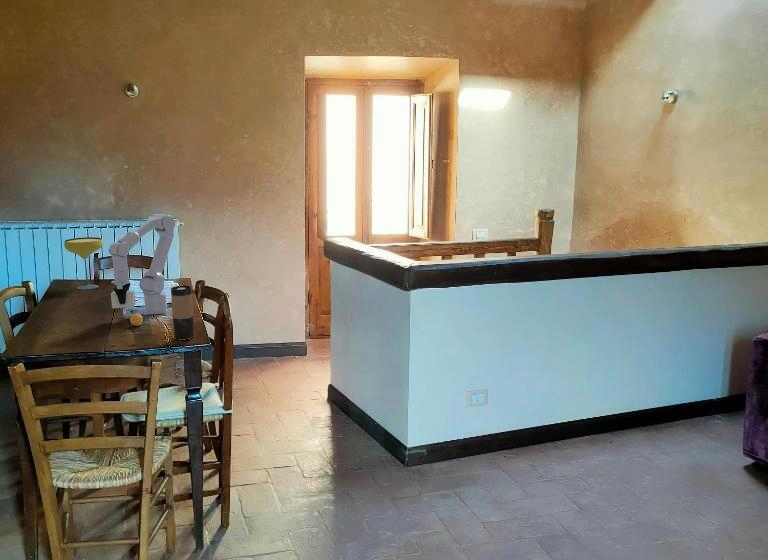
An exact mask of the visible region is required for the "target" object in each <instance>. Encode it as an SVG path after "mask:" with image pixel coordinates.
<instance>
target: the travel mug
mask: <svg viewBox="0 0 768 560" xmlns="http://www.w3.org/2000/svg"><path fill="white" fill-rule="evenodd" d="M192 293H193V292H192V286H190V285H177V286H176V285H175V286H172V287H171V288H170V297H171V299H170V300H171V311H172V312H171V313H172V314H171V315H172V325H173V334H174V339H175V338H176V339H187V338H191V337H193V336H194V337H195V333H194V332H195V330H194V329H195V328H194V325H195V324H194V309H193V296H192V295H193V294H192ZM176 339H175V340H176Z"/></svg>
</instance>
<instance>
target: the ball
mask: <svg viewBox="0 0 768 560" xmlns="http://www.w3.org/2000/svg"><path fill="white" fill-rule="evenodd" d="M143 319H144V318H143V316H142V315H141V314H140V313H133V314H131V316H130V317H129V321H130V324H131V325H132V326H140V325H142V324H143Z"/></svg>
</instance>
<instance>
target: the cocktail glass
mask: <svg viewBox="0 0 768 560" xmlns="http://www.w3.org/2000/svg"><path fill="white" fill-rule="evenodd" d="M63 246H64V249H66V250H67V252H70V253H73V254H75V255H77V256H79V257H80V258H82V259H83V260H84V268H85V269H84V270H85V284H83V285H80V286H79V285H78V286H77V287H76V290H80V291H81V290H82V291H85V290H86V291H87V290H95V289H98V288H99V287H100V285H97V284H90V282H89V277H88V270H87V259H88V258H89V257H90V255H92V254H93V253H96V252H97V251H99V250H100V249H101V248H102V246H103V238H102V237H97V236H96V237H91V236H90V237H87V236H86V237H76V238H69V239H65V240H64V241H63Z"/></svg>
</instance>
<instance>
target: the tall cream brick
mask: <svg viewBox="0 0 768 560" xmlns="http://www.w3.org/2000/svg"><path fill="white" fill-rule="evenodd" d="M135 295H136V294H135V289H133V290H130V289H129V290H128V291H127V293H126V303H125V304H120V303H119V300H118V297H117V295H116V293H115V291H114V290H113V291H112V292H111V293H110V300H111V308H112V309H123V308H134V307H135V306H136V296H135Z"/></svg>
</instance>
